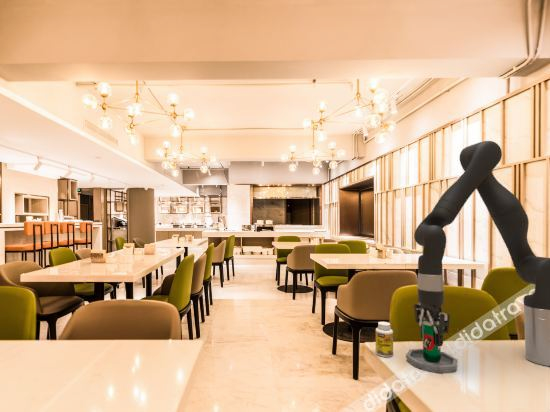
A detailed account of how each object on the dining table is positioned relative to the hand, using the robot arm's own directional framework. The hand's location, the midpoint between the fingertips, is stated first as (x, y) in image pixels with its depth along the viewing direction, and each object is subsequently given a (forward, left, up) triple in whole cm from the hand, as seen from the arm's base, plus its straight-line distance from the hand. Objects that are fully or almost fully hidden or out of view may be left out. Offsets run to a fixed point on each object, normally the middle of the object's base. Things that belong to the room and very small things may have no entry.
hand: (431, 341), depth 103 cm
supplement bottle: (+11, -9, -7) cm, 16 cm away
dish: (0, 0, -7) cm, 7 cm away
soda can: (0, 0, -6) cm, 6 cm away
